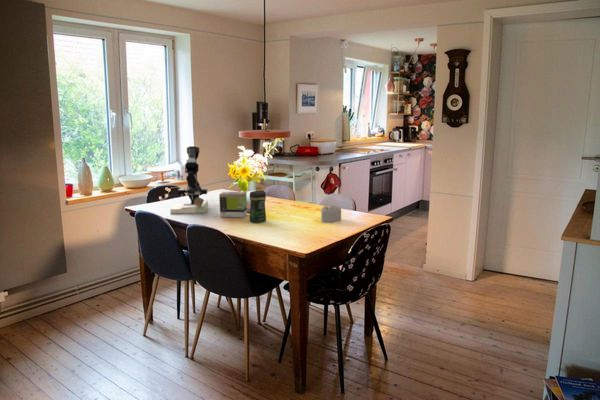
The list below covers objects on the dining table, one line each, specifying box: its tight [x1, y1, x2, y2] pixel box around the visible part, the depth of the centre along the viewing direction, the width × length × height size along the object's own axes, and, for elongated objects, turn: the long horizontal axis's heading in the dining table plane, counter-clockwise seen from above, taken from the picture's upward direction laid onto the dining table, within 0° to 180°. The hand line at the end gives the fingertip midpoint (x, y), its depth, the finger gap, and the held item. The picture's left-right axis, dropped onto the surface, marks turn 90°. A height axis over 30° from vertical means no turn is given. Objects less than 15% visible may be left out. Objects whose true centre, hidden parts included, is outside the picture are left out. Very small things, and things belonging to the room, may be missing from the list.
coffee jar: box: [248, 189, 267, 224], centre depth 279 cm, size 10×8×19 cm
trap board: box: [169, 200, 209, 215], centre depth 307 cm, size 16×22×5 cm
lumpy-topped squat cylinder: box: [320, 205, 342, 224], centre depth 282 cm, size 10×13×9 cm
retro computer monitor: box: [218, 191, 248, 218], centre depth 293 cm, size 15×10×15 cm
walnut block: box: [194, 196, 205, 207], centre depth 307 cm, size 4×4×4 cm
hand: (193, 204), depth 307 cm, fingers closed
